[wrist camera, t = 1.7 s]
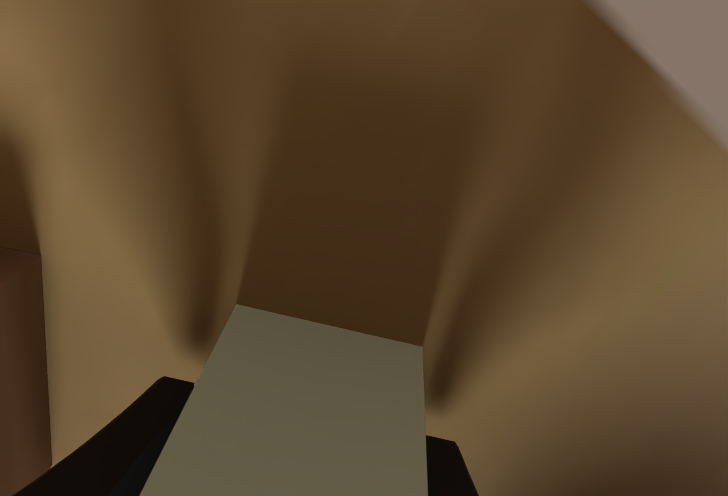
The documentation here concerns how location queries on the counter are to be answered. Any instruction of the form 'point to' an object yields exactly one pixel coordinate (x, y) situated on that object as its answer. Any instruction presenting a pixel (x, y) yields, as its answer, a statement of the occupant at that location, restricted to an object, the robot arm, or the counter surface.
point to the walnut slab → (22, 373)
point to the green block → (299, 415)
